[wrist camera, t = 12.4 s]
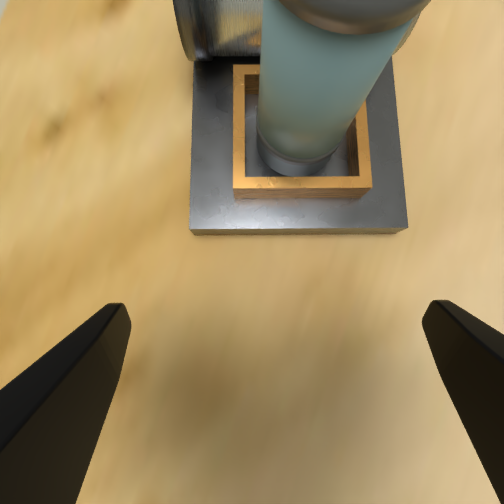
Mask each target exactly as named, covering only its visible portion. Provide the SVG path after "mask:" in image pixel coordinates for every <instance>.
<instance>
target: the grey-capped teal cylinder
mask: <svg viewBox="0 0 504 504" xmlns="http://www.w3.org/2000/svg"><path fill="white" fill-rule="evenodd" d="M430 1H431V0H263V16H262V37H261V57H260V78H259V98H258V106H257V111H256V130H257V139H256V141H257V148H258V151H259V154H260V156H261V157H262V159H263V160H264V162H265V163H266V164H267V165H268V166H269V167H270V168H271V169H273V170H274V171H276V172H278V173H280V174H283V175H286V176H291V177H303V176H308V175H310V174H313V173H315V172H317V171H318V170H320V169H321V168H322V167H324V166H325V165H326V163H327V162H328V161H329V159H330V158H331V156H332V154H333V153H334V152H335V151H336V150H337V148H338V147H339V145H340V144H341V142H342V140H343V139H344V137H345V135H346V133H347V129H348V127H349V126H350V124H351V122H352V121H353V119H354V117H355V116H356V114H357V112H358V111H359V109H360V107H361V106H362V104H363V102H364V101H365V99H366V97H367V96H368V94H369V92H370V91H371V89H372V87H373V86H374V84H375V82H376V81H377V79H378V77H379V75H380V74H381V72H382V70H383V69H384V67H385V65H386V64H387V62H388V60H389V59H390V57H391V55H392V54H393V52H394V50H395V49H396V47H397V45H398V44H399V42H400V40H401V39H402V37H403V35H404V34H405V32H406V30H407V29H408V27H409V25H410V23H411V22H412V20H413V18H414V17H415V16H416V15H417V14H419V13H420V12H421V11H422V10H423V9H424V8H425V7H426V6H427V5H428V3H429V2H430Z"/></svg>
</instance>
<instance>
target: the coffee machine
mask: <svg viewBox="0 0 504 504" xmlns="http://www.w3.org/2000/svg"><path fill="white" fill-rule="evenodd" d="M173 5H174V11H175V16H176V21H177V26H178V30H179V34H180V38H181V42H182V45H183V48H184V51H185V54H186V56H187V58H188V60H189V61H194V73H193V110H192V146H191V182H190V218H189V229H190V230H191V232H192V233H193V234H194V235H268V234H395V233H397V232H399V231H402V230H404V229H406V228H408V220H407V210H406V199H405V189H404V179H403V168H402V158H401V148H400V137H399V127H398V116H397V106H396V96H395V85H394V75H393V65H392V55H391V57H390V59H389V60H388V62H387V64H386V65H385V67H384V69H383V70H382V72H381V74H380V75H379V77H378V79H377V81H376V82H375V84H374V86H373V87H372V89H371V91H370V92H369V94H368V96H367V97H366V99H365V101H364V102H363V104H362V106H361V107H360V109H359V111H358V112H357V114H356V116H355V117H354V119H353V121H352V122H351V124H350V126H349V127H348V129H347V133H346V135H345V137H344V139H343V140H342V142H341V144H340V145H339V147H338V148H337V150H336V151H335V152H334V153H333V154H332V156H331V158H330V159H329V161H328V162H327V163H326V165H325V166H324V167H322V168H321V169H320V170H318V171H317V172H315V173H313V174H310V175H308V176H303V177H291V176H286V175H283V174H280V173H278V172H276V171H274V170H273V169H271V168H270V167H269V166H268V165H267V164H266V163H265V162H264V160H263V159H262V157H261V156H260V154H259V151H258V148H257V141H256V139H257V130H256V111H257V106H258V98H259V78H260V57H261V37H262V16H263V0H173ZM420 13H421V12H420ZM420 13H419V14H417V15H416V16H415V17H414V18H413V20H412V22H411V23H410V25H409V27H408V29H407V30H406V32H405V34H404V35H403V37H402V39H401V40H400V42H399V44H398V45H397V47H396V49H395V50H394V52H393V54H394V53H395V52H397V51H398V50H399V49H400V48H401V47H402V45H403V44H404V43H405V41H406V40H407V38H408V37H409V35H410V33H411V32H412V30H413V28H414V26H415V24H416V22H417V20H418V18H419V16H420Z"/></svg>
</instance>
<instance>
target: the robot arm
mask: <svg viewBox="0 0 504 504" xmlns="http://www.w3.org/2000/svg"><path fill="white" fill-rule="evenodd" d="M422 327H423V330H424V332H425V335H426V338H427V341H428V344H429V346H430V349H431V352H432V355H433V358H434V360H435V363H436V366H437V369H438V371H439V374H440V376H441V379H442V381H443V383H444V385H445V387H446V389H447V391H448V394H449V396H450V398H451V400H452V402H453V404H454V406H455V408H456V410H457V412H458V415H459V417H460V419H461V421H462V423H463V425H464V427H465V429H466V431H467V434H468V436H469V438H470V440H471V442H472V444H473V446H474V448H475V450H476V452H477V455H478V457H479V459H480V461H481V463H482V465H483V467H484V469H485V471H486V473H487V476H488V478H489V480H490V482H491V484H492V486H493V488H494V490H495V492H496V495H497V497H498V499H499V501H500V503H501V504H504V335H503V334H502V333H500V332H499V331H497V330H496V329H494V328H492V327H491V326H489V325H488V324H486V323H484V322H483V321H481V320H480V319H478V318H476V317H475V316H473V315H472V314H470V313H468V312H467V311H465V310H464V309H462V308H460V307H459V306H457V305H456V304H454V303H452V302H451V301H449V300H433V301H432V302H431V303H430V304H429V306H428V308H427V310H426V312H425V314H424V316H423V318H422ZM130 332H131V320H130V317H129V315H128V312H127V309H126V307H125V305H124V304H123V303H108V304H107V305H105V306H104V307H103V308H101V309H100V310H99V311H98V312H96V313H95V314H94V315H93V316H91V317H90V318H89V319H88V320H87V321H85V322H84V323H83V324H82V325H80V326H79V327H78V328H77V329H75V330H74V331H73V332H72V333H70V334H69V335H68V336H67V337H65V338H64V339H63V340H62V341H60V342H59V343H58V344H57V345H55V346H54V347H53V348H52V349H50V350H49V351H48V352H47V353H45V354H44V355H43V356H42V357H40V358H39V359H38V360H37V361H36V362H34V363H33V364H32V365H31V366H29V367H28V368H27V369H26V370H24V371H23V372H22V373H21V374H19V375H18V376H17V377H16V378H14V379H13V380H12V381H11V382H9V383H8V384H7V385H6V386H4V387H3V388H2V389H1V390H0V504H76V501H77V498H78V495H79V492H80V490H81V487H82V484H83V481H84V478H85V475H86V473H87V470H88V467H89V464H90V461H91V458H92V455H93V453H94V450H95V447H96V444H97V441H98V438H99V436H100V433H101V430H102V427H103V424H104V421H105V419H106V416H107V413H108V410H109V407H110V404H111V402H112V399H113V396H114V393H115V390H116V387H117V384H118V381H119V378H120V374H121V370H122V366H123V362H124V357H125V353H126V349H127V345H128V340H129V336H130Z"/></svg>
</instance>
